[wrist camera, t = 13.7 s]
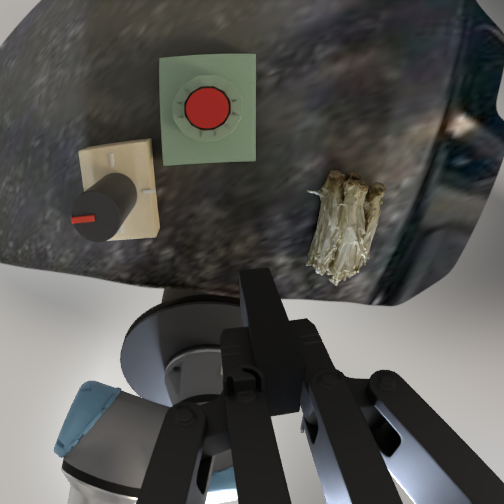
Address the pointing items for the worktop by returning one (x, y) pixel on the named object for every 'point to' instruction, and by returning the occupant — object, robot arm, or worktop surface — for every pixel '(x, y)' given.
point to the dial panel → (138, 170)
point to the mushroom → (344, 225)
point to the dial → (104, 207)
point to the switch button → (207, 108)
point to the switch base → (225, 134)
